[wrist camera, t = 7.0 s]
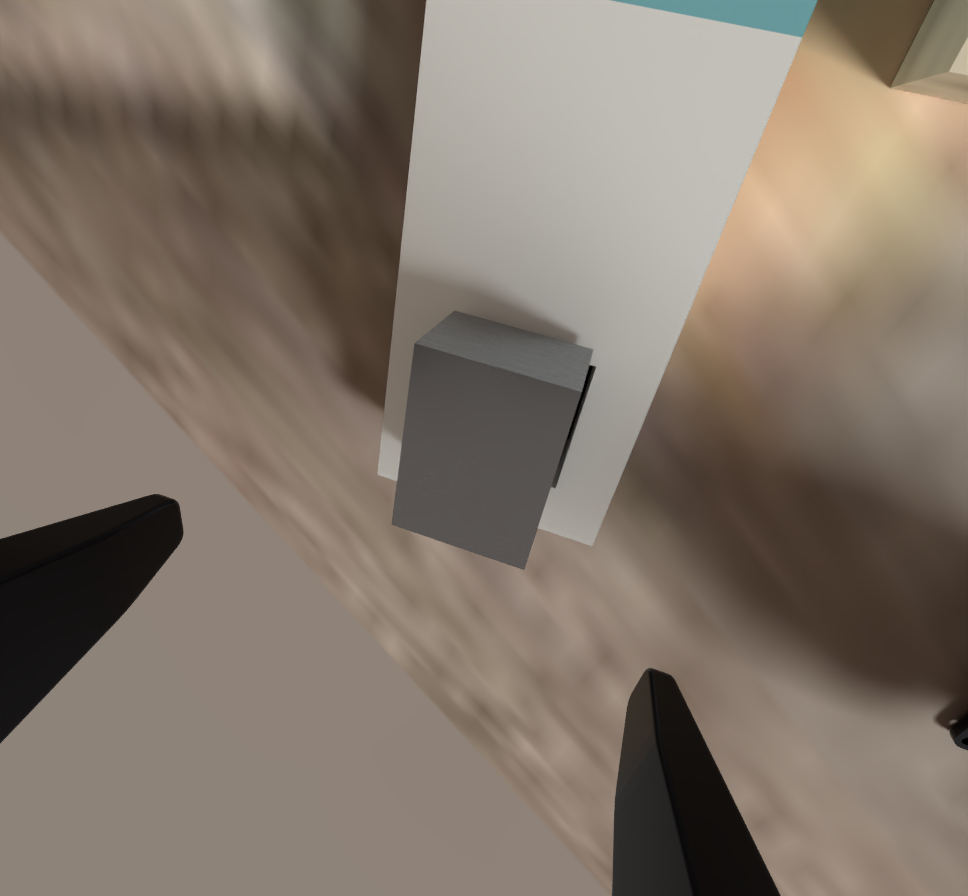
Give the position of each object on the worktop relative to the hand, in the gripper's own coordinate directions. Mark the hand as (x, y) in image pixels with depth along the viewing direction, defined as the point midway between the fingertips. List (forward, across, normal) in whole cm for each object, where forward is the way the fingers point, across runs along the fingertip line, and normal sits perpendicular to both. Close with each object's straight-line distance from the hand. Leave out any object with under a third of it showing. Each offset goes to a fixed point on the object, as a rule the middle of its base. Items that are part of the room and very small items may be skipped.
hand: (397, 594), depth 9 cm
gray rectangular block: (+12, 0, 0) cm, 12 cm away
